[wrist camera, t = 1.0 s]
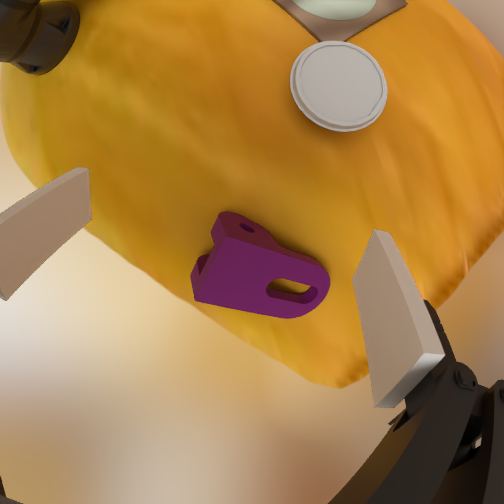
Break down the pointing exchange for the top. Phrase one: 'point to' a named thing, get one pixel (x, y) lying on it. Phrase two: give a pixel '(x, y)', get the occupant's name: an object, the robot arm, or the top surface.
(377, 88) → the disposable coffee cup
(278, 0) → the coaster
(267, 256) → the mounting bracket
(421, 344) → the robot arm
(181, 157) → the top surface
